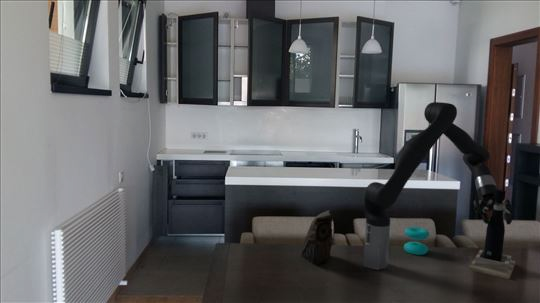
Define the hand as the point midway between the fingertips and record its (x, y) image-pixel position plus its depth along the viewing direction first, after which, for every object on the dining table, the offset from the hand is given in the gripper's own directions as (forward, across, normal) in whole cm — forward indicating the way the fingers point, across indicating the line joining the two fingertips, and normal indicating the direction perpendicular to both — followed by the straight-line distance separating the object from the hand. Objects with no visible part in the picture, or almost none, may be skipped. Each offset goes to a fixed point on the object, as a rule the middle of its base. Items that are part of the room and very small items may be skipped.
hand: (498, 223), depth 167 cm
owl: (+10, -70, +17) cm, 73 cm away
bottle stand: (+12, 0, +14) cm, 19 cm away
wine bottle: (+11, 0, +13) cm, 17 cm away
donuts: (+1, -26, +25) cm, 36 cm away
